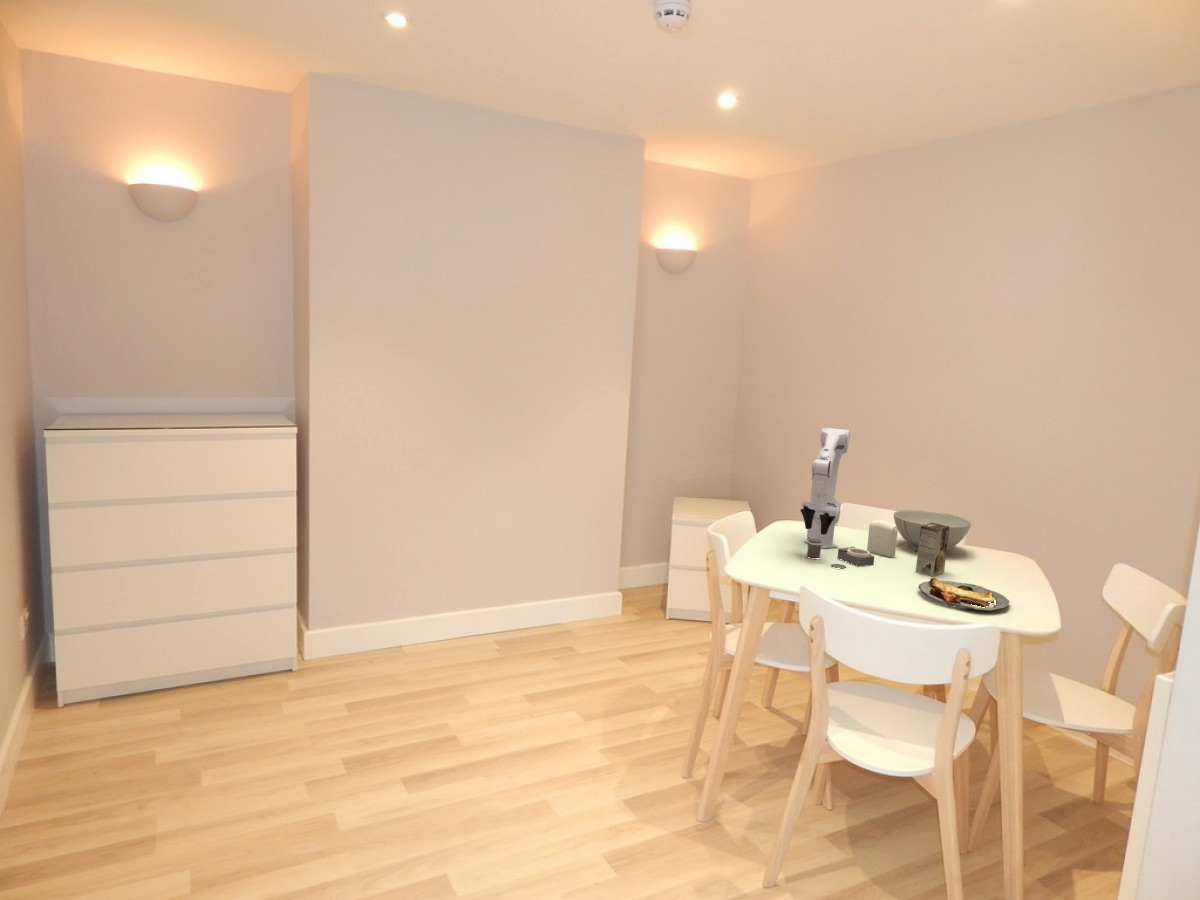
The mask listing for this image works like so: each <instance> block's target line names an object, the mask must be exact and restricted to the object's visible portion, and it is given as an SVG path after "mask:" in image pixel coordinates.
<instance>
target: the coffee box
mask: <svg viewBox="0 0 1200 900" xmlns="http://www.w3.org/2000/svg"><path fill="white" fill-rule="evenodd" d="M948 534H949V526H944V525H941V524H937V523H929V524H926V525H924V526H921V531H920V539H919V548H918V551H917V557H916V565H915V573H917V574H921V575H924V576H928V577H931V578H935V577H936V576H938V575H940V574H942V573H944V572H945V568H946V560H947V559H946V558H947V550H948V549H947V543H948Z"/></svg>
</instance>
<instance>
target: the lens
mask: <svg viewBox="0 0 1200 900" xmlns="http://www.w3.org/2000/svg"><path fill="white" fill-rule="evenodd" d="M821 543H822V542H821V541H820V540H816V539H810V540H808V543H807V552H806V557H807V556H808V557H810V558H821V550H822V548H821ZM808 557H807V558H808ZM810 558H809V559H810Z"/></svg>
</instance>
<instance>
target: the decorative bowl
mask: <svg viewBox="0 0 1200 900" xmlns="http://www.w3.org/2000/svg"><path fill="white" fill-rule="evenodd" d="M893 519H894V523H895V524H894V525H896V526H897V528H898V533H899V534H900V536H901V538H903V539H904V541H906V542H907V543H908V544H910V548H911V549H913V550H914V551H917V550H918V548H919V539H920V531H921V526H924V525H926V524H929V523H937V524H941V525H944V526H949V534H948V543H947V550H949V549H951V548H954V547H955V546H957V545H958V544H960V542H961V541H962V540H963V539H964V538H965V537H966V535H967V534H968V532H969V530H970V528H971V526H972V523H971V522H970V521H969V519H966V518H963V517H961V516H958V515H954V514H949V513H946V512H945V513H944V512H940V511H934V510H933V511H932V510H925V509H924V510H923V509H902V510H896V511H894V513H893Z"/></svg>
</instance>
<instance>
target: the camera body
mask: <svg viewBox="0 0 1200 900" xmlns="http://www.w3.org/2000/svg"><path fill="white" fill-rule="evenodd" d="M836 558H839V559H838V560H840V559H842V560H841V561H843V560H844V561H843V562H845V561H847V562H846V563H848V562H849V563H848V564H851V563H852V564H851V565H853V564H854V566H856V565H857V566H856V567H858V566H861V567H866V566H865V565H868V566H873V565H874V563H875V556H874V555H871V552H869V551H867V549H863V548H859V547H858V548H857V547H856V546H854V545H851V546H848V547H841V548H838V549H837V557H836Z"/></svg>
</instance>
